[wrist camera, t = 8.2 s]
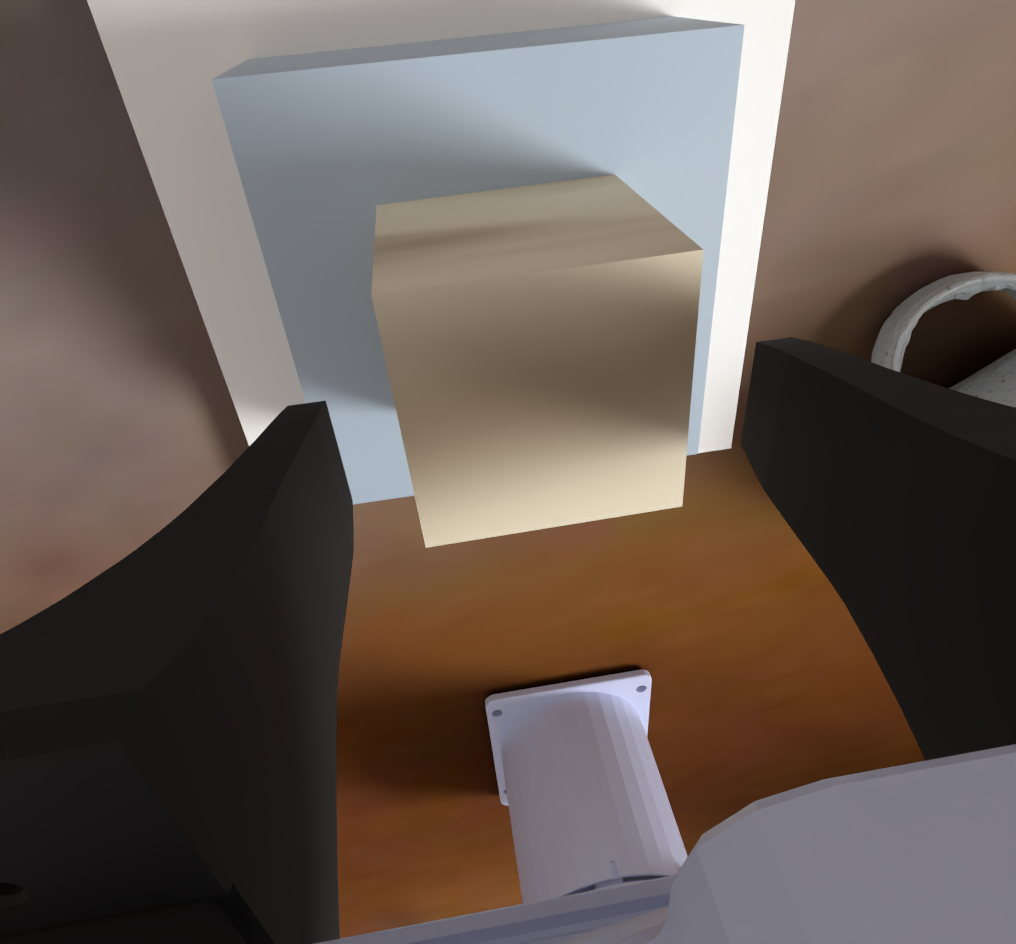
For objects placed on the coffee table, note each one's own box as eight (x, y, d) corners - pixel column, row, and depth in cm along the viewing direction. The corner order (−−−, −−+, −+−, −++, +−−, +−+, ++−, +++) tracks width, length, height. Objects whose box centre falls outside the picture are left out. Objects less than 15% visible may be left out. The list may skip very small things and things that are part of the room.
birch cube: (613, 384, 17) (682, 506, 13) (417, 413, 17) (425, 547, 13) (614, 174, 14) (703, 249, 10) (376, 205, 14) (370, 294, 10)
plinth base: (717, 430, 25) (783, 519, 21) (278, 493, 24) (255, 601, 20) (792, -155, 16) (939, -206, 11) (73, -96, 14) (-56, -127, 10)
